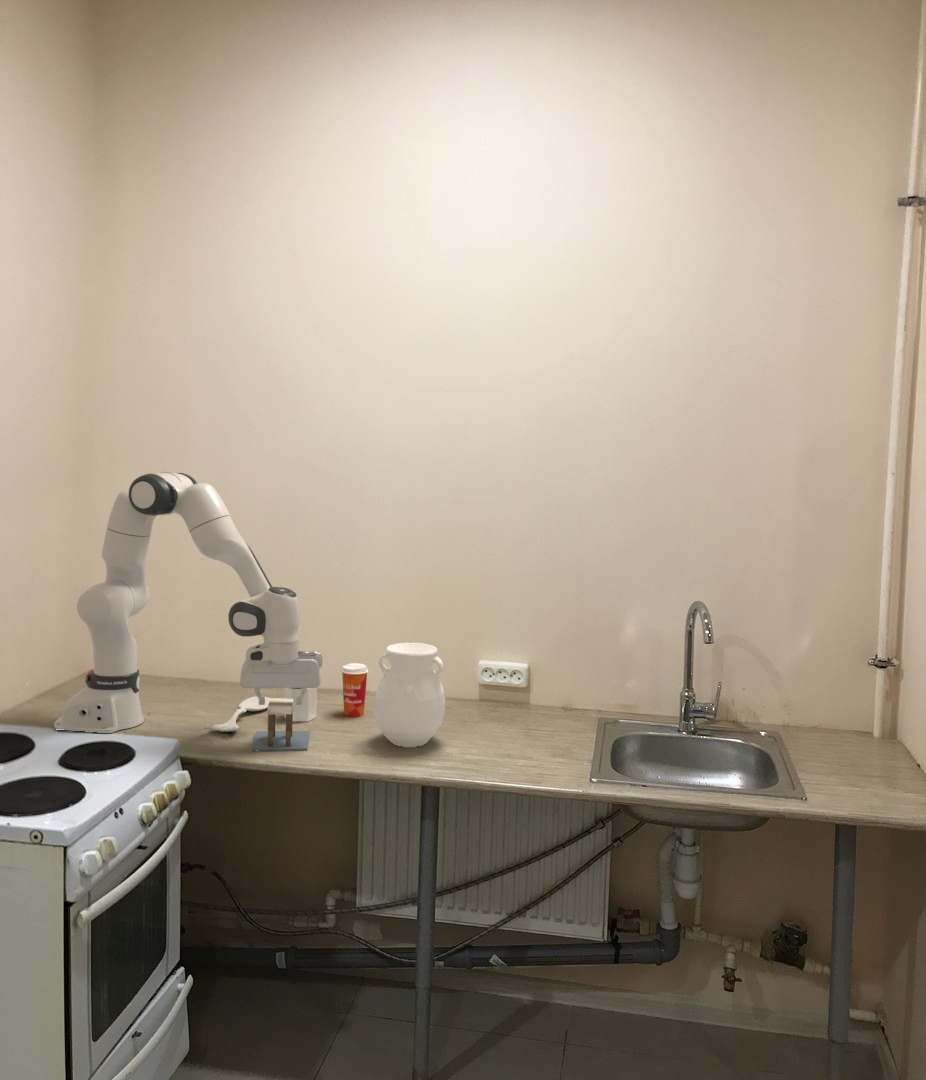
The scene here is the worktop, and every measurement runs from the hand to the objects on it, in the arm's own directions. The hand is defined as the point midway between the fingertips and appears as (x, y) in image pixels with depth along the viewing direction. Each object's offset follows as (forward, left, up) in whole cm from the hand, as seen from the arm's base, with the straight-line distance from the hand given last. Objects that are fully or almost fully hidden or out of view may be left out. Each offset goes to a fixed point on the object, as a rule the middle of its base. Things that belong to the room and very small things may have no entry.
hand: (280, 704), depth 236 cm
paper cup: (+19, +24, -10) cm, 32 cm away
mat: (0, +1, -10) cm, 10 cm away
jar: (+4, +21, -10) cm, 24 cm away
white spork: (-12, +20, -11) cm, 26 cm away
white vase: (+33, 0, -10) cm, 35 cm away
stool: (0, 0, -10) cm, 10 cm away
